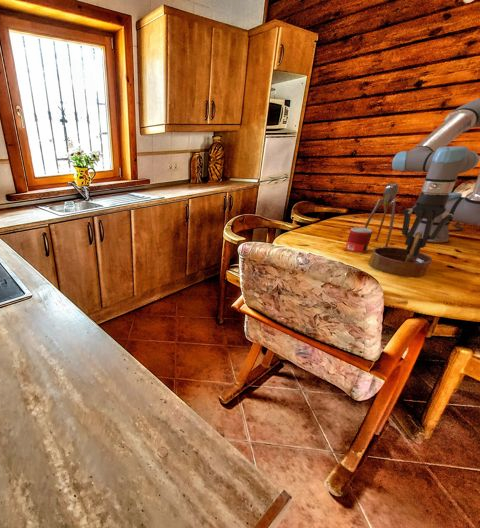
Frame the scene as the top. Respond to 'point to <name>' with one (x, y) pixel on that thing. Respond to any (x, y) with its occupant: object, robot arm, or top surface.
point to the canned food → (358, 239)
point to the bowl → (399, 262)
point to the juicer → (388, 198)
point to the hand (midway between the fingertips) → (411, 253)
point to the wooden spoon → (413, 247)
